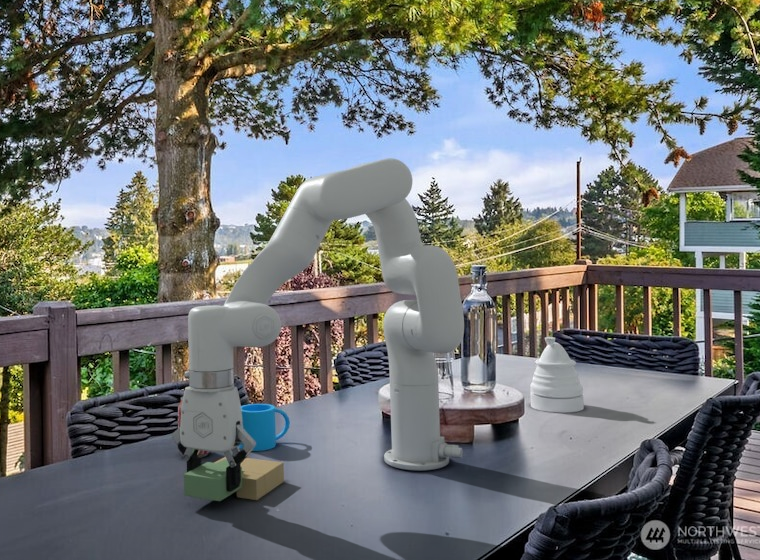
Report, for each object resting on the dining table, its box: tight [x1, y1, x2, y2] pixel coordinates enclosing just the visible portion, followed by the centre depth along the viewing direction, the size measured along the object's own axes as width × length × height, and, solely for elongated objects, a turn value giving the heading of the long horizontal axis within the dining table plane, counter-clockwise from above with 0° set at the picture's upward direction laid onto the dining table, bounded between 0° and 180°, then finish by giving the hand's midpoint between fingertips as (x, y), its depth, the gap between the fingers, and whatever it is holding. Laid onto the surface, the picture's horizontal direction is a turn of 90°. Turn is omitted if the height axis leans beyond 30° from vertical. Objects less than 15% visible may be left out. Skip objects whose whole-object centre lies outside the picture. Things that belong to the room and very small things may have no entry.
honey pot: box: [529, 336, 585, 414], centre depth 174 cm, size 13×13×18 cm
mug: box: [238, 403, 291, 452], centre depth 146 cm, size 12×8×8 cm
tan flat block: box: [213, 456, 285, 501], centre depth 120 cm, size 12×10×4 cm
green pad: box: [183, 459, 242, 502], centre depth 113 cm, size 7×10×4 cm
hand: (213, 485), depth 112 cm, fingers closed on green pad, 7 cm apart
